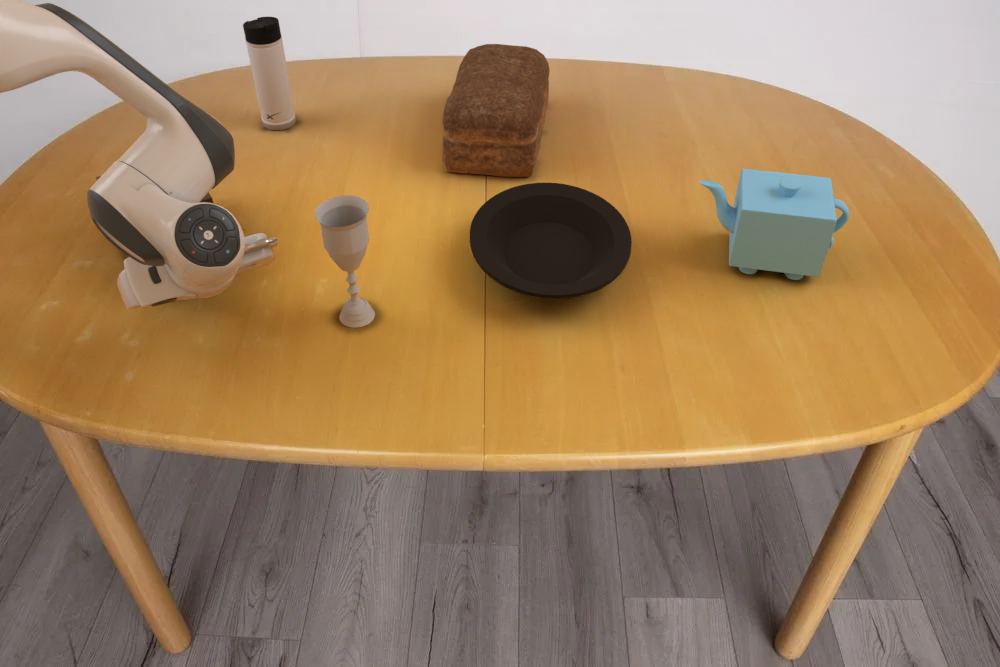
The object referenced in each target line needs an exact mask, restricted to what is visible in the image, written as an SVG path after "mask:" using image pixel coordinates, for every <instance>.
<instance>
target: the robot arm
mask: <svg viewBox="0 0 1000 667" xmlns="http://www.w3.org/2000/svg"><path fill="white" fill-rule="evenodd" d="M68 72H77V73H81V74H84V75H86V76H89V77H90V78H92V79H93V80H94V81H96V82H98V83H99V84H100V85H102V86H103V87H104V88H105V89H107V90H108V91H110V92H111V93H113V94H114V95H115V96H117V97H118V98H119V99H120V100H122V101H124V102H125V103H126V104H127V105H129V106H130V107H131V108H133V109H134V110H136V111H137V112H138V113H140V114H141V115H142V116H143V117H144V118H145V119H146V128H145V130H144V132H143V133H141V135H140V136H139V137H138V138H137V139H135V141H134V142H133V143H132V144H131V145H130V146H129V147H128V149H127V150H126V151H125V152H124V153H123V154H122V155H121V156H120V157H119V158H118V159H117V160H115V161H114V162H113V163H112V164H111V165H110V166H109V167H108V169H106V170H105V171H104V172H103V174H101V175H100V176H101V177H100V178H99V179H98V180H96V181H95V182H94V184H92V186H91V187H90V188H89V189H88V190H87V192H86V193H87V194H86V195H87V196H86V201H87V207H88V211H89V215H90V218H91V220H92V222H93V224H94V225H95V227H96V228H97V229H98V230H99V232H100V233H101V234H102V235H103V236H104V237H105V239H107V240H108V241H109V242H110V243H111V244H112V245H113V246H114V247H115V248H117V249H118V250H119V251H121V252H122V253H123V254H124V255H126V257H127V256H129V258H128V257H127V258H125V259H124V260H123V268H124V269H123V270H121V271H120V273H119V275H118V277H117V280H116V282H117V289H118V291H119V294H120V296H121V299H122V301H123V303H124V306H125V308H126V310H128V311H132V310H136V309H139V308H142V309H148V308H152V307H153V308H154V307H157V306H161V305H164V304H169V303H174V302H176V301H185V300H186V301H187V300H188V301H189V300H195V299H207V298H208V299H209V298H212V297H215V296H218V295H220V294H222V293H223V292H225V290H227V289H228V288H229V287H230V286H231V284H232V283H233V281H234V280H235V277H236V276H239V275H242V274H245V273H249V272H251V271H254V270H257V269H260V268H263V267H266V266H269V265H271V264H273V263H274V262H275V259H276V256H275V253H274V250H273V248H274V247H277V246H278V245H279V239H278V237H276V236H274V237H270V238H269V237H268V235H267V234H266V233H265V232H257V233H254V234H250V235H247V236H245V235H244V231H243V228H242V226H241V224H240V222H239V221H238V219H237V218H236V217H235V216H234V215H233V213H232V212H230V211H229V209H227V208H225V207H223V206H222V205H219V204H217V203H214V202H213V203H208V202H200V201H201V200H202V199H203V198H204V197H205V196H206V195H207V193H208V192H209V193H210V191H211V190H214V189H215V188H216V187H217V186H218V185H219V184H220V183H221V182H222V181H223V180H225V179H227V177H228V176H229V175H230V174H231V173H232V172H233V171H234V170H235V164H236V163H235V162H236V149H235V141H234V136H233V135H232V134H231V133H230V131H229V130H228V128H226V126H225V125H223V124H222V123H221V122H220V121H219V120H218V119H217V118H216V117H214V116H212V115H211V114H210V113H208V112H206V111H205V110H203V109H202V108H200V107H199V106H197V105H196V104H194V103H193V102H191V101H190V100H189V99H187V98H186V97H184V96H183V95H182V94H180V93H178V92H177V91H176V90H175V89H173V88H172V87H171V86H169V85H168V84H166V82H164V81H163V80H162V79H160V77H158V76H157V75H155V74H154V73H153V72H151V71H150V70H149V69H148V68H146V67H145V66H143V65H142V64H141V63H140V62H139V61H137V60H136V59H135V58H134V57H132V56H131V55H130V54H128V53H127V52H126V51H124V50H123V49H122V48H121V47H119V45H117V44H116V43H114V42H113V41H112V40H110V39H109V38H108V37H106V36H105V35H103V34H102V33H101V32H99V31H98V30H97V29H95V28H94V27H93V26H91V25H90V24H89V23H87V22H86V21H84V20H83V19H81V18H80V17H78V16H77V15H76V14H73V13H72V12H70V11H69V10H67V9H65V8H63V7H61V6H59V5H56V4H54V3H51V2H45V3H44V2H43V3H39V4H31V3H29V2H26V1H23V0H0V94H3V93H6V92H10V91H15V90H17V89H21V88H23V87H25V86H29V85H30V84H34V83H37V82H39V81H42V80H44V79H47V78H50V77H52V76H55V75H58V74H62V73H68ZM199 202H200V203H199Z"/></svg>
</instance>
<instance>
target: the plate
mask: <svg viewBox="0 0 1000 667" xmlns="http://www.w3.org/2000/svg"><path fill="white" fill-rule="evenodd" d="M632 245H633V243H632V233H631V230H630V227H629V225H628V222H627V221H626V219H625V218H624V216H623V215H622V214H621V212H620V211H619V210H618V209H617V208H616V207H615V206H614V205H613V204H612V203H610V201H607V200H606V199H604V198H603V197H601V196H600V195H598V194H596V193H594V192H592V191H589V190H587V189H585V188H582V187H578V186H575V185H572V184H571V185H570V184H565V183H558V182H532V183H531V182H530V183H525V184H520V185H517V186H513V187H510V188H508V189H505V190H503V191H500V192H499V193H497V194H494V195H493V196H492V197H490V198H489V199H487V200H486V201H485V202H484V203H483V204H482V205H481V206H480V207H479V208H478V210H477V211H476V213H475V214H474V216H473V218H472V220H471V223H470V228H469V246H470V249H471V253H472V255H473V258H474V260H475V262H476V264H477V266H479V268H480V269H481V270H482V271H483V272H484V273H485V275H486V276H488V277H489V278H490V279H492V280H493V281H494V282H496V283H497V284H499V285H500V286H502V287H503V288H506V289H508V290H510V291H513V292H515V293H517V294H521V295H524V296H528V297H532V298H538V299H547V300H567V299H574V298H579V297H584V296H586V295H590V294H593V293H595V292H598V291H600V290H601V289H603V288H606V287H607V286H608V285H610V284H612V283H613V282H614V281H615V280H616V279H618V277H619V276H620V275H621V274H622V273H623V271H624V270H625V269H626V267H627V265H628V263H629V261H630V258H631V253H632Z"/></svg>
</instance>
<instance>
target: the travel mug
mask: <svg viewBox="0 0 1000 667" xmlns="http://www.w3.org/2000/svg"><path fill="white" fill-rule="evenodd" d="M242 27H243V28H242V29H243V33H244V38H245V43H246V49H247V54H248V59H249V64H250V69H251V74H252V78H253V84H254V90H255V94H256V99H257V104H258V109H259V112H260V113H259V114H260V117H261V118H260V119H261V123H262V126H263V127H264V128H265V129H267V130H270V131H285V130H287V129H290V128H291V127H293V126H294V125H295V124H296V122H297V118H296V111H295V105H294V99H293V93H292V87H291V83H290V76H289V71H288V65H287V60H286V52H285V49H284V42H283V36H282V32H281V27H280V21H279V18H277V17H275V16H260V17H256V19H252V20H247V21H245V22H244V23H242Z"/></svg>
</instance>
